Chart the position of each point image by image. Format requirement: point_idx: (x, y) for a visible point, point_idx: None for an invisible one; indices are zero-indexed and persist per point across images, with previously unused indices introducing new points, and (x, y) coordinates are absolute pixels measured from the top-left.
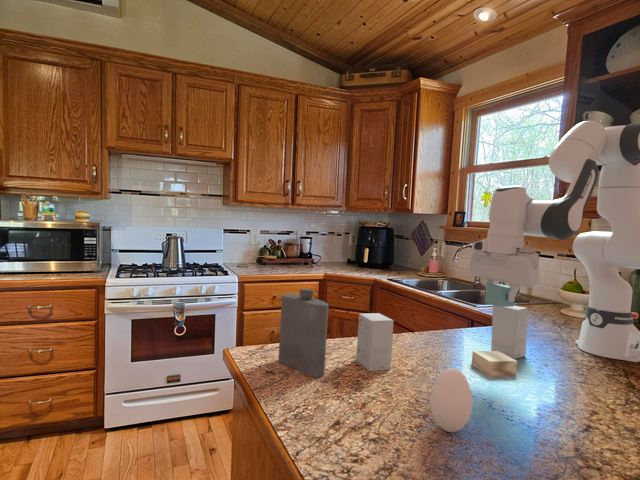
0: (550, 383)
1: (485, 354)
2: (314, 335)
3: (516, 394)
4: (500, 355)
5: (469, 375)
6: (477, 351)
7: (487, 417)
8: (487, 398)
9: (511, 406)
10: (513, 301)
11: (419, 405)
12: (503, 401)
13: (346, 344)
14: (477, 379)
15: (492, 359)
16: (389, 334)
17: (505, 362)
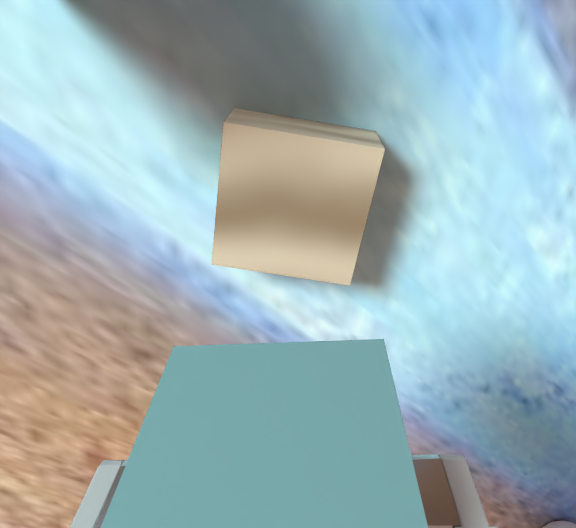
0: (507, 37)
1: (265, 238)
2: None
3: (510, 280)
4: (292, 173)
5: (326, 319)
6: (220, 246)
7: (561, 441)
8: (487, 379)
9: (557, 354)
10: (393, 388)
11: None
12: (523, 352)
13: (20, 504)
14: (364, 317)
15: (333, 256)
16: None
17: (368, 210)
